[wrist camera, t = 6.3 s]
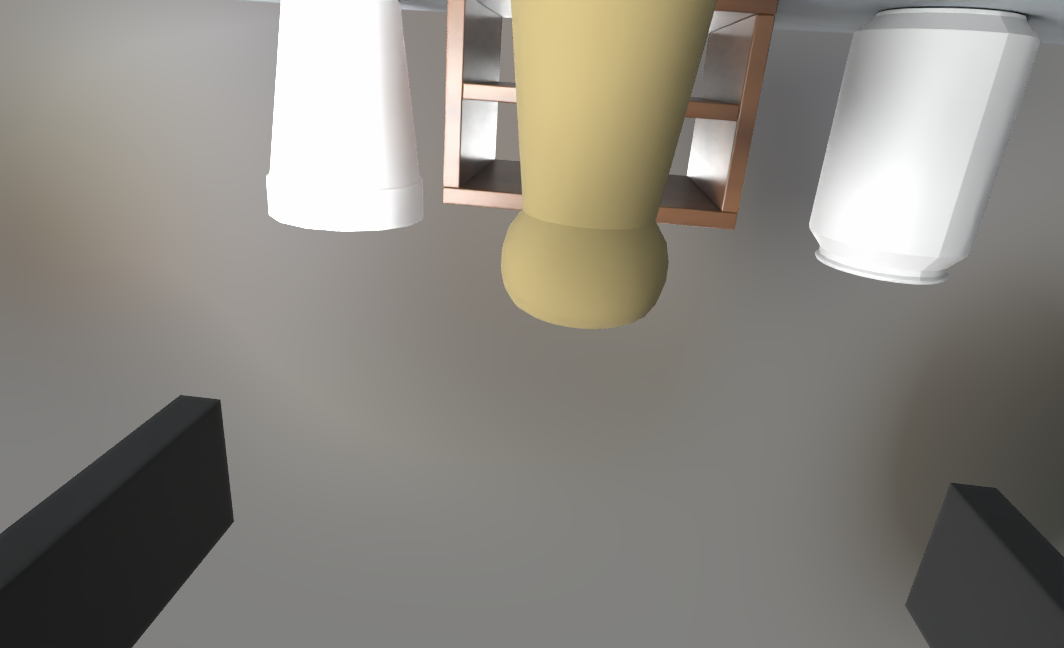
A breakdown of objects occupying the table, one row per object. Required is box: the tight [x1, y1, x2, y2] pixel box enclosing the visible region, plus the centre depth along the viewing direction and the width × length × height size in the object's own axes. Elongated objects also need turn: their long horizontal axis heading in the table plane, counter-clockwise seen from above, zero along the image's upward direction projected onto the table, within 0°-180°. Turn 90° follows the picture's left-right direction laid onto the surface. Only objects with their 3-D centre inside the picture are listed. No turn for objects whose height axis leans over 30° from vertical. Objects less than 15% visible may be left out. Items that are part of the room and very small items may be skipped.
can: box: [809, 8, 1041, 284], centre depth 31 cm, size 8×8×12 cm
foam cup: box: [266, 0, 423, 231], centre depth 39 cm, size 10×9×13 cm
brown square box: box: [443, 0, 778, 230], centre depth 35 cm, size 12×14×10 cm
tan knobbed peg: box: [501, 0, 717, 329], centre depth 19 cm, size 6×6×11 cm
